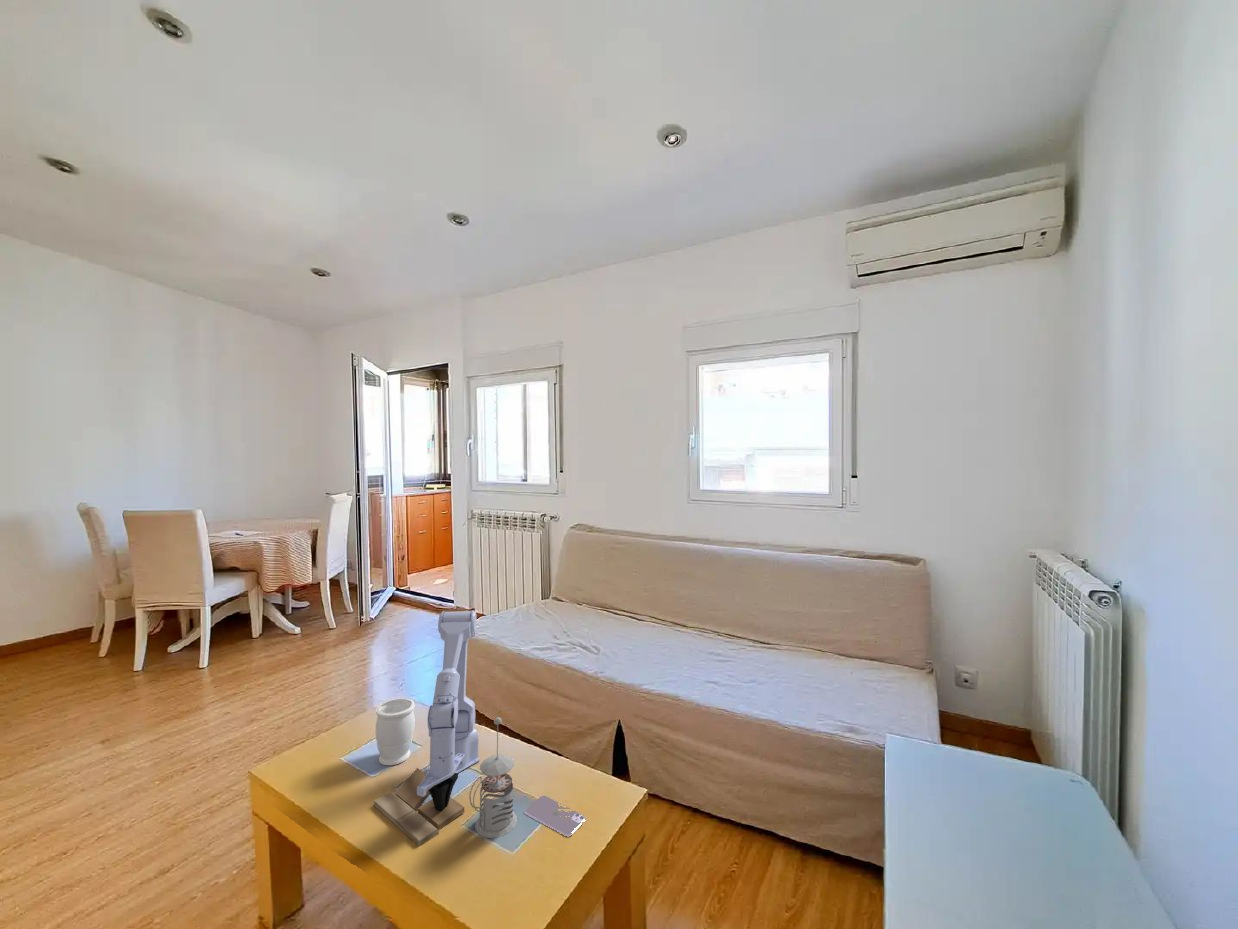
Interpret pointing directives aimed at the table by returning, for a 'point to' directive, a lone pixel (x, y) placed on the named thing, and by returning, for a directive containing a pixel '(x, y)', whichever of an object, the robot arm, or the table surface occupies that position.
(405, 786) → the plank
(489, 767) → the french press
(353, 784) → the table surface
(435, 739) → the robot arm
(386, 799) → the laid board
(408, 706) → the jar
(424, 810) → the plank
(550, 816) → the mobile phone
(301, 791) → the table surface
